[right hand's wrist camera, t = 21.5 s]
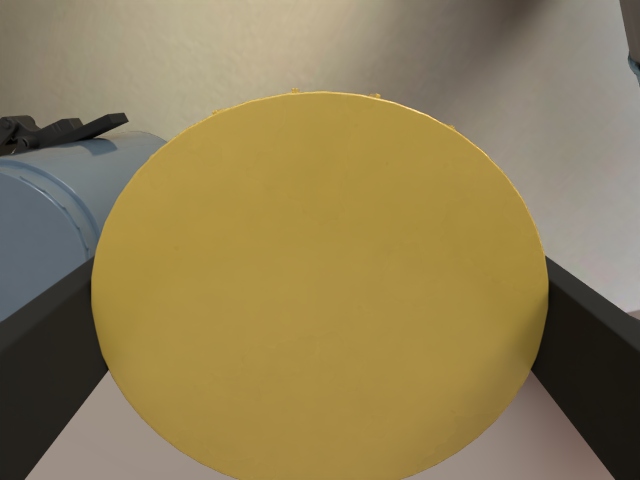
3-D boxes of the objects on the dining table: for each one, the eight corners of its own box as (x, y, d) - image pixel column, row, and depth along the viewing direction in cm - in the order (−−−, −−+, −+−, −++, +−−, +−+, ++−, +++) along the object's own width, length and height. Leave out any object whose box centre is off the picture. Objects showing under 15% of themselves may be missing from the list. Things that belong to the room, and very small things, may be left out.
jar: (164, 247, 42) (51, 357, 25) (75, 195, 40) (-117, 274, 23) (210, 170, 40) (120, 231, 22) (117, 109, 38) (-66, 123, 20)
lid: (494, 34, 9) (533, 20, 8) (529, 407, 13) (560, 454, 12) (51, 157, 10) (-2, 169, 9) (204, 470, 14) (189, 522, 13)
